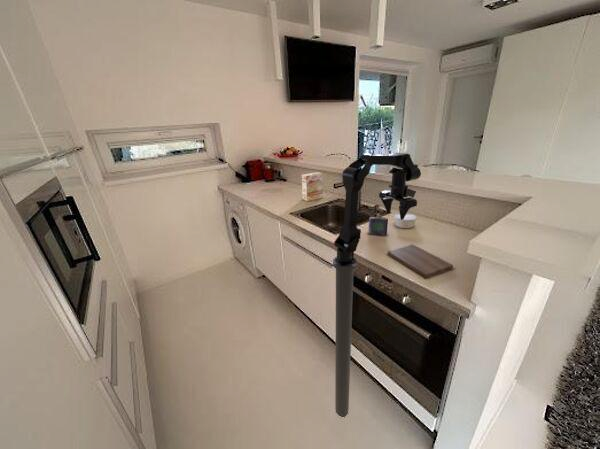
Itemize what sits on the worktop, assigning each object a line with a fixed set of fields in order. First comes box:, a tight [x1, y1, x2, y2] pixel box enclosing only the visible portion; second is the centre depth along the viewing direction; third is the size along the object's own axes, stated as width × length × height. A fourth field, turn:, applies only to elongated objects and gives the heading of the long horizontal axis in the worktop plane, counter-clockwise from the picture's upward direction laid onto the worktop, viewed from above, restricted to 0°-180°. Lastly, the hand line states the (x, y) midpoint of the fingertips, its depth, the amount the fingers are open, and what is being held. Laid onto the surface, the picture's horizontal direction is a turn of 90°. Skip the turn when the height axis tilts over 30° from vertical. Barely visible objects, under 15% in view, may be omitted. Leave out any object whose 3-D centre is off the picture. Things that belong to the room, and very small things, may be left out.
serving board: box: [387, 244, 454, 279], centre depth 100 cm, size 14×20×2 cm
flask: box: [367, 213, 389, 237], centre depth 124 cm, size 9×3×11 cm, turn 71°
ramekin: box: [393, 212, 417, 229], centre depth 134 cm, size 11×11×5 cm
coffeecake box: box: [301, 171, 324, 202], centre depth 189 cm, size 15×7×20 cm, turn 120°
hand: (395, 216), depth 112 cm, fingers open, 9 cm apart
